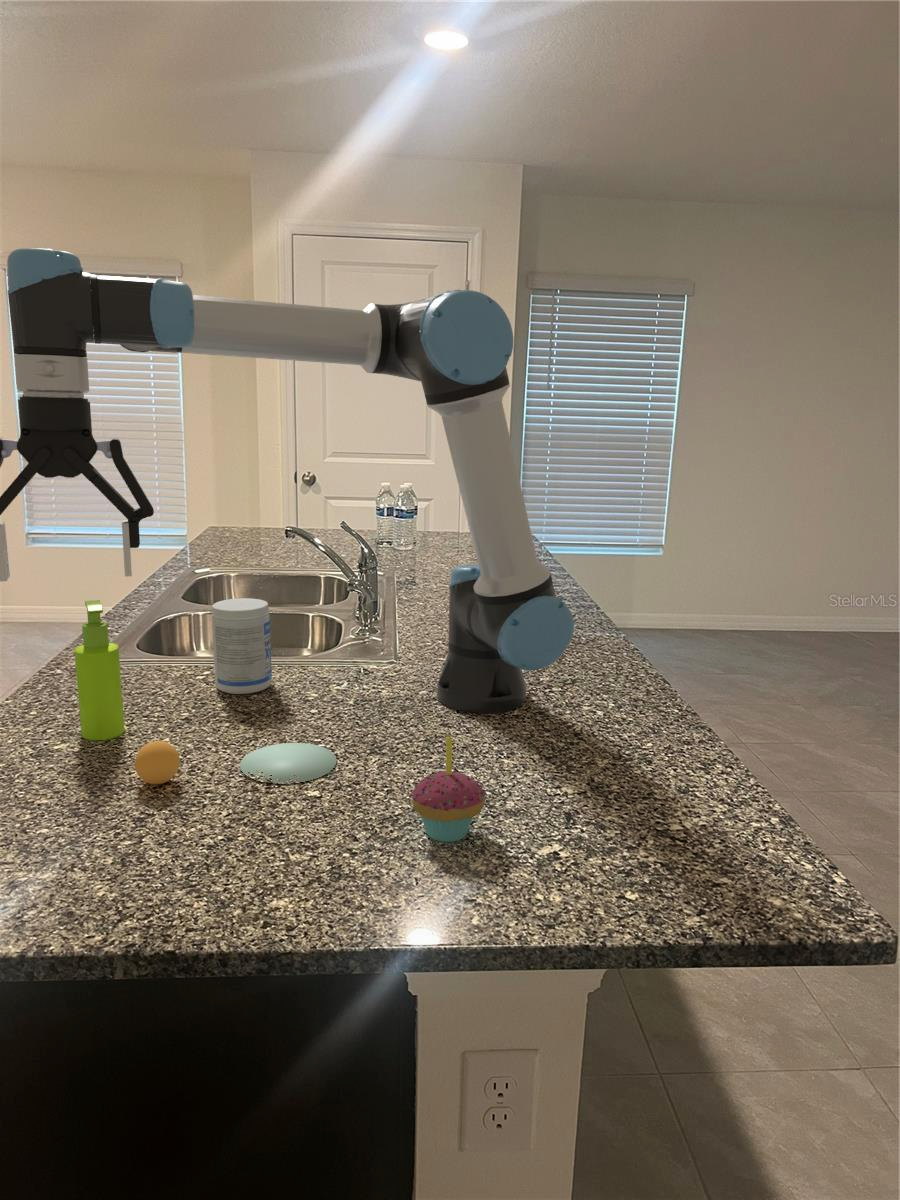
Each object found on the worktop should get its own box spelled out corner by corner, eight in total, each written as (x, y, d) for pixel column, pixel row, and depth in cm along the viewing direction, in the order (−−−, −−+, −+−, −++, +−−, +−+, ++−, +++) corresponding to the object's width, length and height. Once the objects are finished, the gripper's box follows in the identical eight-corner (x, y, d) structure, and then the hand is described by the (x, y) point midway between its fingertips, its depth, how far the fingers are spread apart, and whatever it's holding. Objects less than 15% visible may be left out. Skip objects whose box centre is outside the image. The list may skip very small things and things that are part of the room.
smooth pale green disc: (353, 754, 118) (353, 752, 118) (304, 792, 106) (304, 790, 106) (275, 738, 123) (275, 736, 123) (220, 773, 111) (220, 771, 111)
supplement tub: (280, 690, 143) (278, 607, 139) (226, 699, 138) (222, 613, 134) (259, 674, 151) (257, 595, 147) (207, 682, 145) (203, 600, 142)
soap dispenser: (83, 745, 119) (72, 609, 114) (80, 728, 124) (68, 598, 120) (127, 739, 121) (118, 605, 116) (121, 722, 127) (112, 595, 122)
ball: (189, 777, 110) (187, 738, 108) (160, 795, 105) (158, 754, 103) (156, 769, 112) (154, 731, 110) (126, 786, 107) (123, 746, 105)
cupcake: (410, 815, 101) (411, 723, 99) (479, 813, 102) (482, 722, 99) (413, 852, 93) (414, 753, 90) (488, 851, 94) (492, 752, 91)
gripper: (-80, 391, 88) (-58, 588, 93) (170, 399, 96) (178, 578, 101) (-65, 391, 95) (-45, 574, 100) (167, 398, 103) (175, 566, 108)
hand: (67, 576), depth 100 cm, fingers open, 13 cm apart
